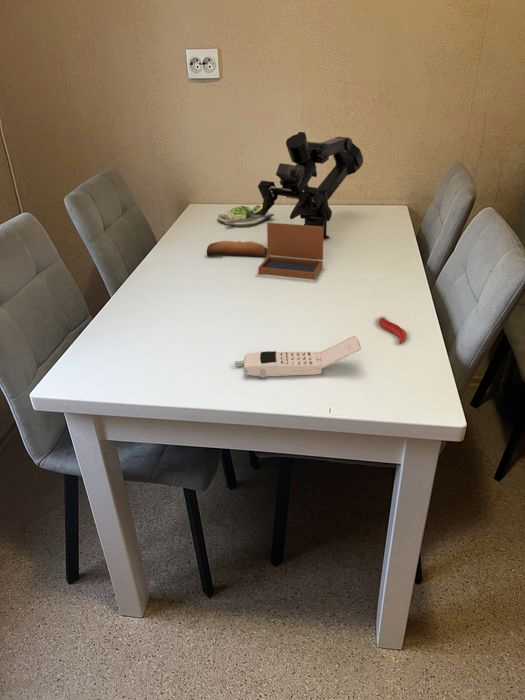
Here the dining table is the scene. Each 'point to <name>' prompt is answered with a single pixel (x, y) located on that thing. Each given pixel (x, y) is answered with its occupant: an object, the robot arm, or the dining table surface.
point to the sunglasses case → (236, 248)
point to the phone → (291, 266)
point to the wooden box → (290, 273)
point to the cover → (295, 240)
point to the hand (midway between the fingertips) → (276, 215)
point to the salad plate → (244, 216)
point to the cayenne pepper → (393, 329)
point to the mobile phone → (296, 360)
